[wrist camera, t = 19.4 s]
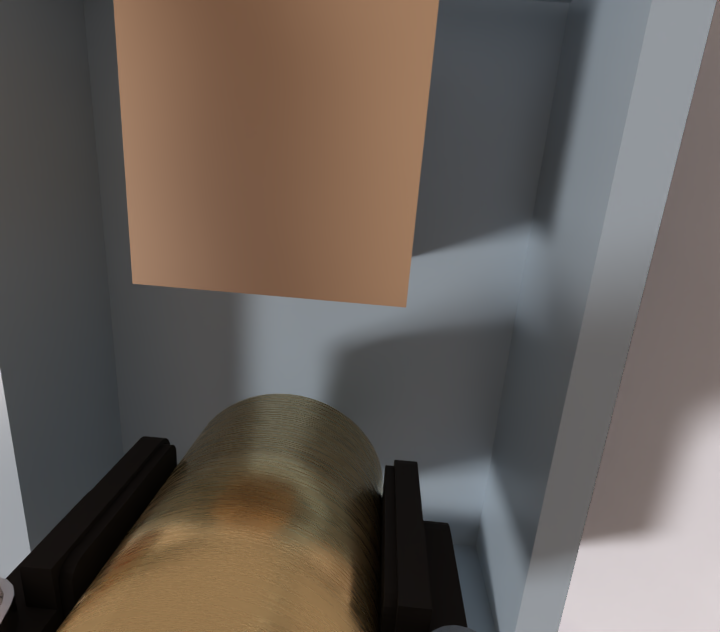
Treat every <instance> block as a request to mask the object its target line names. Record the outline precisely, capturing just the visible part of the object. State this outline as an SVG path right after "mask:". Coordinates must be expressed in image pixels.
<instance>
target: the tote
mask: <svg viewBox="0 0 720 632" xmlns="http://www.w3.org/2000/svg"><path fill="white" fill-rule="evenodd" d="M716 1H717V0H439V6H438V15H437V24H436V34H435V43H434V52H433V62H432V71H431V80H430V90H429V99H428V108H427V118H426V127H425V136H424V146H423V155H422V164H421V174H420V183H419V192H418V201H417V211H416V220H415V229H414V239H413V248H412V257H411V267H410V276H409V285H408V295H407V304H406V308H405V307H394V306H382V305H371V304H359V303H348V302H336V301H325V300H314V299H302V298H291V297H279V296H268V295H256V294H245V293H233V292H222V291H210V290H199V289H187V288H176V287H164V286H153V285H141V284H133V283H132V269H131V254H130V239H129V225H128V210H127V195H126V180H125V166H124V151H123V136H122V122H121V107H120V92H119V78H118V63H117V48H116V34H115V19H114V4H113V0H0V577H1V578H4V579H6V578H7V577H8V576H9V574H10V573H11V572H12V571H13V570H14V569H15V568H16V567H17V566H18V565H19V564H20V563H21V562H22V561H23V560H24V559H25V558H26V557H27V556H28V555H29V554H30V552H31V551H32V550H33V549H34V548H35V547H36V546H37V545H38V544H39V543H40V542H41V541H42V540H43V539H44V538H45V537H46V536H47V535H48V534H49V533H50V531H51V530H52V529H53V528H54V527H55V526H56V525H57V524H58V523H59V522H60V521H61V520H62V519H63V518H64V517H65V516H66V515H67V514H68V513H69V512H70V511H71V509H72V508H73V507H74V506H75V505H76V504H77V503H78V502H79V501H80V500H81V499H82V498H83V497H84V496H85V495H86V494H87V493H88V492H89V491H91V490H92V489H93V488H94V487H95V485H96V484H97V483H98V482H99V481H100V480H101V479H102V478H103V477H104V476H105V475H106V474H107V473H108V472H109V471H110V470H111V469H112V468H113V467H114V465H115V464H116V463H117V462H118V461H119V460H120V459H121V458H122V457H123V456H124V455H125V454H126V453H127V452H128V451H129V450H130V449H131V448H132V447H133V445H134V444H135V443H136V442H137V441H138V440H139V439H140V438H142V437H143V436H149V437H160V438H167V439H168V440H169V442H170V445H174V446H175V447H176V453H177V465H178V464H179V463H180V461H181V460H182V458H183V457H184V456H185V454H186V453H187V452H188V450H189V449H190V447H191V446H192V445H193V443H194V442H195V441H196V439H197V438H198V436H199V435H200V434H201V432H202V431H203V430H204V428H205V427H206V426H207V425H208V423H209V422H210V421H211V420H212V419H213V418H214V417H215V416H216V415H217V414H219V413H220V412H221V411H223V410H224V409H226V408H227V407H229V406H231V405H233V404H235V403H237V402H239V401H242V400H244V399H247V398H250V397H254V396H259V395H265V394H292V395H299V396H304V397H308V398H311V399H315V400H317V401H320V402H322V403H325V404H327V405H329V406H331V407H333V408H335V409H336V410H338V411H340V412H341V413H343V414H344V415H345V416H347V417H348V418H350V419H351V420H352V421H353V422H354V423H355V424H356V425H357V426H358V427H359V428H360V429H361V430H362V431H363V432H364V434H365V435H366V436H367V437H368V439H369V441H370V442H371V444H372V445H373V447H374V449H375V451H376V453H377V456H378V458H379V461H380V465H381V468H382V475H383V483H384V473H385V465H391V466H394V460H404V461H415V462H417V464H418V473H419V483H420V492H421V502H422V512H423V521H434V522H444V523H448V524H449V526H450V530H451V535H452V541H453V547H454V553H455V558H456V564H457V570H458V575H459V581H460V587H461V592H462V598H463V604H464V609H465V615H466V621H467V626H468V628H470V629H472V630H474V631H476V632H558V629H559V625H560V621H561V617H562V613H563V609H564V605H565V601H566V597H567V593H568V589H569V585H570V581H571V577H572V573H573V569H574V565H575V561H576V557H577V553H578V549H579V545H580V541H581V537H582V533H583V529H584V525H585V521H586V517H587V513H588V509H589V505H590V501H591V498H592V494H593V490H594V486H595V482H596V478H597V474H598V470H599V466H600V462H601V458H602V454H603V450H604V446H605V442H606V438H607V434H608V430H609V426H610V422H611V418H612V414H613V410H614V406H615V402H616V398H617V394H618V390H619V386H620V382H621V378H622V374H623V370H624V367H625V363H626V359H627V355H628V351H629V347H630V343H631V339H632V335H633V331H634V327H635V323H636V319H637V315H638V311H639V307H640V303H641V299H642V295H643V291H644V287H645V283H646V279H647V275H648V271H649V267H650V263H651V259H652V255H653V251H654V247H655V243H656V239H657V235H658V232H659V228H660V224H661V220H662V216H663V212H664V208H665V204H666V200H667V196H668V192H669V188H670V184H671V180H672V176H673V172H674V168H675V164H676V160H677V156H678V152H679V148H680V144H681V140H682V136H683V132H684V128H685V124H686V120H687V116H688V112H689V108H690V104H691V100H692V97H693V93H694V89H695V85H696V81H697V77H698V73H699V69H700V65H701V61H702V57H703V53H704V49H705V45H706V41H707V37H708V33H709V29H710V25H711V21H712V17H713V13H714V9H715V5H716Z"/></svg>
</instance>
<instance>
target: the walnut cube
mask: <svg viewBox="0 0 720 632" xmlns="http://www.w3.org/2000/svg"><path fill="white" fill-rule="evenodd" d="M113 4H114V19H115V34H116V48H117V63H118V78H119V92H120V107H121V122H122V136H123V151H124V166H125V180H126V195H127V210H128V225H129V239H130V254H131V269H132V283H133V284H141V285H153V286H164V287H176V288H187V289H199V290H210V291H222V292H233V293H245V294H256V295H268V296H279V297H291V298H302V299H314V300H325V301H336V302H348V303H359V304H371V305H382V306H394V307H405V308H406V304H407V295H408V285H409V276H410V267H411V257H412V248H413V239H414V229H415V220H416V211H417V201H418V192H419V183H420V174H421V164H422V155H423V146H424V136H425V127H426V118H427V108H428V99H429V90H430V80H431V71H432V62H433V52H434V43H435V34H436V24H437V15H438V6H439V0H113Z"/></svg>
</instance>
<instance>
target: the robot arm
mask: <svg viewBox="0 0 720 632" xmlns="http://www.w3.org/2000/svg"><path fill="white" fill-rule="evenodd" d="M176 467H177V453H176V447H175V446H174V445H170V442H169V440H168V439H167V438H160V437H149V436H143V437H142V438H140V439H139V440H138V441H137V442H136V443H135V444H134V445H133V447H132V448H131V449H130V450H129V451H128V452H127V453H126V454H125V455H124V456H123V457H122V458H121V459H120V460H119V461H118V462H117V463H116V464H115V465H114V467H113V468H112V469H111V470H110V471H109V472H108V473H107V474H106V475H105V476H104V477H103V478H102V479H101V480H100V481H99V482H98V483H97V484H96V485H95V487H94V488H93V489H92V490H91V491H89V492H88V493H87V494H86V495H85V496H84V497H83V498H82V499H81V500H80V501H79V502H78V503H77V504H76V505H75V506H74V507H73V508H72V509H71V511H70V512H69V513H68V514H67V515H66V516H65V517H64V518H63V519H62V520H61V521H60V522H59V523H58V524H57V525H56V526H55V527H54V528H53V529H52V530H51V531H50V533H49V534H48V535H47V536H46V537H45V538H44V539H43V540H42V541H41V542H40V543H39V544H38V545H37V546H36V547H35V548H34V549H33V550H32V551H31V552H30V554H29V555H28V556H27V557H26V558H25V559H24V560H23V561H22V562H21V563H20V564H19V565H18V566H17V567H16V568H15V569H14V570H13V571H12V572H11V573H10V574H9V576H8V577H7V578H6V579H4V578H1V577H0V632H56V631H57V629H58V628H59V627H60V625H61V624H62V623H63V621H64V620H65V619H66V617H67V616H68V614H69V613H70V612H71V610H72V609H73V608H74V606H75V605H76V603H77V602H78V601H79V599H80V598H81V597H82V595H83V594H84V593H85V591H86V590H87V588H88V587H89V586H90V584H91V583H92V582H93V580H94V579H95V577H96V576H97V575H98V573H99V572H100V571H101V569H102V568H103V567H104V565H105V564H106V562H107V561H108V560H109V558H110V557H111V556H112V554H113V553H114V551H115V550H116V549H117V547H118V546H119V545H120V543H121V542H122V541H123V539H124V538H125V536H126V535H127V534H128V532H129V531H130V530H131V528H132V527H133V525H134V524H135V523H136V521H137V520H138V519H139V517H140V516H141V515H142V513H143V512H144V510H145V509H146V508H147V506H148V505H149V504H150V502H151V501H152V499H153V498H154V497H155V495H156V494H157V493H158V491H159V490H160V489H161V487H162V486H163V484H164V483H165V482H166V480H167V479H168V478H169V476H170V475H171V473H172V472H173V471H174V469H175V468H176ZM379 632H476V631H474V630H472V629H470V628H468V626H467V621H466V615H465V609H464V604H463V598H462V592H461V587H460V581H459V575H458V570H457V564H456V558H455V553H454V547H453V541H452V535H451V530H450V526H449V524H448V523H444V522H434V521H423V512H422V502H421V492H420V483H419V473H418V464H417V462H415V461H404V460H394V466H391V465H385V473H384V483H383V493H382V527H381V577H380V627H379Z"/></svg>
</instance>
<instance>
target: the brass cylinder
mask: <svg viewBox="0 0 720 632" xmlns="http://www.w3.org/2000/svg"><path fill="white" fill-rule="evenodd" d="M382 493H383V475H382V468H381V465H380V461H379V458H378V456H377V453H376V451H375V449H374V447H373V445H372V444H371V442H370V441H369V439H368V437H367V436H366V435H365V434H364V432H363V431H362V430H361V429H360V428H359V427H358V426H357V425H356V424H355V423H354V422H353V421H352V420H351V419H350V418H348V417H347V416H345V415H344V414H343V413H341V412H340V411H338V410H336V409H335V408H333V407H331V406H329V405H327V404H325V403H322V402H320V401H317V400H315V399H311V398H308V397H304V396H299V395H292V394H265V395H259V396H254V397H250V398H247V399H244V400H242V401H239V402H237V403H235V404H233V405H231V406H229V407H227V408H226V409H224V410H223V411H221V412H220V413H219V414H217V415H216V416H215V417H214V418H213V419H212V420H211V421H210V422H209V423H208V425H207V426H206V427H205V428H204V430H203V431H202V432H201V434H200V435H199V436H198V438H197V439H196V441H195V442H194V443H193V445H192V446H191V447H190V449H189V450H188V452H187V453H186V454H185V456H184V457H183V458H182V460H181V461H180V463H179V464H178V465H177V467H176V468H175V469H174V471H173V472H172V473H171V475H170V476H169V478H168V479H167V480H166V482H165V483H164V484H163V486H162V487H161V489H160V490H159V491H158V493H157V494H156V495H155V497H154V498H153V499H152V501H151V502H150V504H149V505H148V506H147V508H146V509H145V510H144V512H143V513H142V515H141V516H140V517H139V519H138V520H137V521H136V523H135V524H134V525H133V527H132V528H131V530H130V531H129V532H128V534H127V535H126V536H125V538H124V539H123V541H122V542H121V543H120V545H119V546H118V547H117V549H116V550H115V551H114V553H113V554H112V556H111V557H110V558H109V560H108V561H107V562H106V564H105V565H104V567H103V568H102V569H101V571H100V572H99V573H98V575H97V576H96V577H95V579H94V580H93V582H92V583H91V584H90V586H89V587H88V588H87V590H86V591H85V593H84V594H83V595H82V597H81V598H80V599H79V601H78V602H77V603H76V605H75V606H74V608H73V609H72V610H71V612H70V613H69V614H68V616H67V617H66V619H65V620H64V621H63V623H62V624H61V625H60V627H59V628H58V629H57V631H56V632H379V627H380V577H381V527H382Z"/></svg>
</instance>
